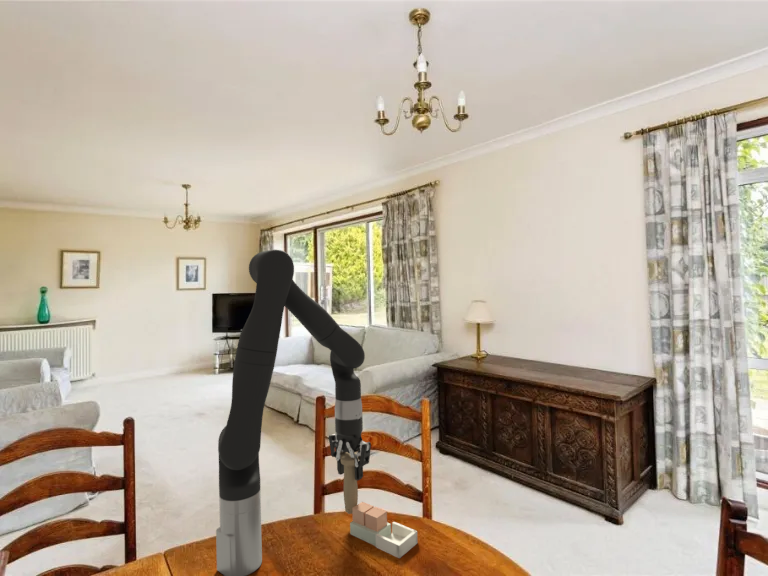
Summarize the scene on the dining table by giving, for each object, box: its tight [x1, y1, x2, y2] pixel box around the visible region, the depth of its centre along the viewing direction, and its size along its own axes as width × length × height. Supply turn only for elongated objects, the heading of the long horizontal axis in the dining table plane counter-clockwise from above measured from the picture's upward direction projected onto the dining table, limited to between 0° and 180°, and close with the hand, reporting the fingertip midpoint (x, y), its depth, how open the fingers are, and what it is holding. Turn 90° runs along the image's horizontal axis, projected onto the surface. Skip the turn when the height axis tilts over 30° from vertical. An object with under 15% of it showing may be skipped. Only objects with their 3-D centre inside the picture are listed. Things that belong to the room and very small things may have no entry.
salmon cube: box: [365, 506, 388, 532], centre depth 107 cm, size 4×4×4 cm
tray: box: [375, 521, 418, 559], centre depth 104 cm, size 8×7×3 cm
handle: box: [341, 452, 359, 515], centre depth 113 cm, size 5×6×15 cm
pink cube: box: [352, 501, 375, 526], centre depth 110 cm, size 4×4×4 cm
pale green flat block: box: [349, 520, 392, 547], centre depth 109 cm, size 6×9×3 cm, turn 51°
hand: (350, 476), depth 113 cm, fingers closed on handle, 5 cm apart
